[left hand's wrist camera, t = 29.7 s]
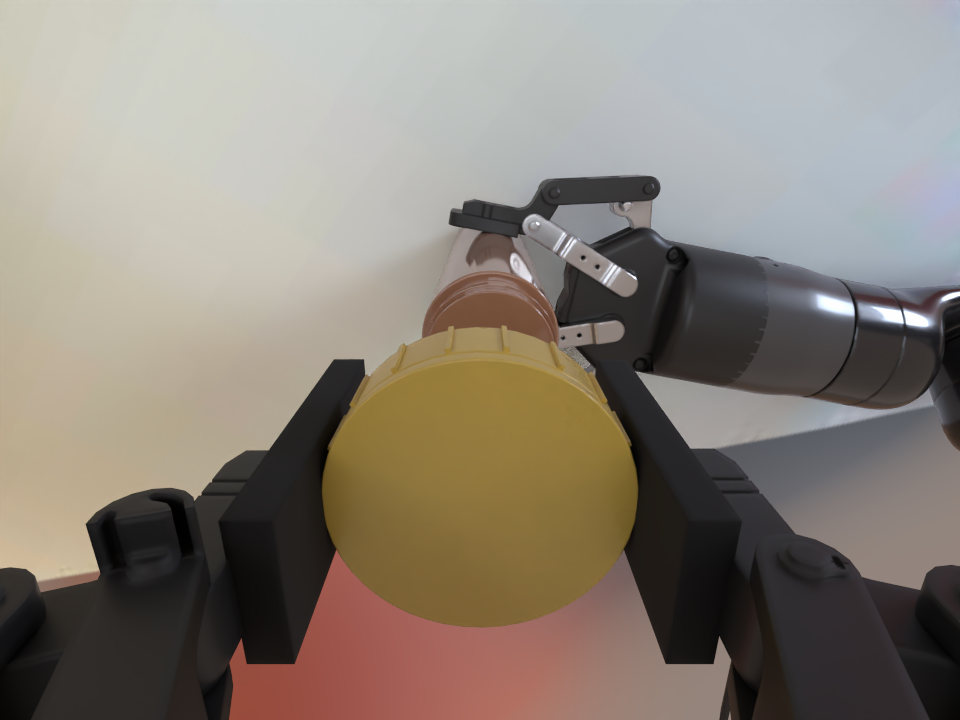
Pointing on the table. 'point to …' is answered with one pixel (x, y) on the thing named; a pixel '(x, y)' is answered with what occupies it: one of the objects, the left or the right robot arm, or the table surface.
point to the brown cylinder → (491, 289)
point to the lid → (480, 479)
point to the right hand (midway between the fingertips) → (443, 268)
